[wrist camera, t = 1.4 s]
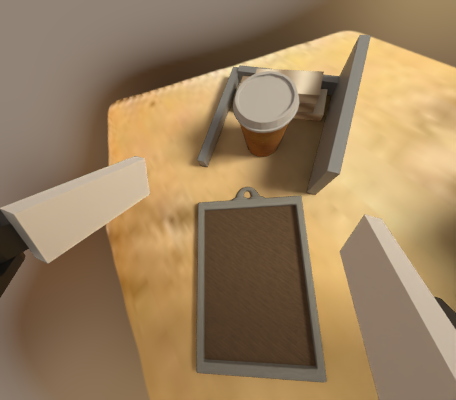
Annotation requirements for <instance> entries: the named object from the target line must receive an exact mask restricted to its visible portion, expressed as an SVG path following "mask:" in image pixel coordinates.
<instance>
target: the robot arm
mask: <svg viewBox="0 0 456 400" xmlns="http://www.w3.org/2000/svg"><path fill="white" fill-rule="evenodd" d="M148 195H150V190H149V184H148V177H147V170H146V164H145V159H144V158H140V157H137V156H134V157H131V158H129V159H126V160H124V161H121V162H118V163H116V164H113V165H111V166H108V167H105V168H103V169H100V170H98V171H95V172H92V173H90V174H87V175H85V176H82V177H79V178H77V179H74V180H72V181H69V182H67V183H64V184H61V185H59V186H56V187H53V188H51V189H48V190H46V191H43V192H41V193H38V194H35V195H33V196H30V197H27V198H25V199H22V200H20V201H17V202H15V203H12V204H9V205H7V206H4V207H1V208H0V297H1V295H2V294H3V293H4V291H5V289H6V288H7V286H8V285H9V283H10V281H11V280H12V278H13V277H14V275H15V274H16V272H17V270H18V269H19V267H20V266H21V264H22V262H23V261H24V259H25V254H24V253H23V252H24V251H25V250H27V249H30V251H31V252H32V253H33V255H34V256H35V258H37V259H39V260H41V261H43V262H46V263H49V262H51V261H52V260H54V259H55V258H57V257H58V256H60V255H61V254H62V253H64V252H66V251H67V250H69V249H70V248H71V247H73V246H75V245H76V244H78V243H79V242H80V241H82V240H83V239H84V238H86V237H88V236H89V235H91V234H92V233H94V232H95V231H97V230H98V229H100V228H101V227H102V226H104V225H105V224H107V223H108V222H110V221H111V220H113V219H114V218H116V217H117V216H119V215H120V214H122V213H123V212H125V211H126V210H127V209H129V208H130V207H132V206H133V205H135V204H136V203H138V202H139V201H141V200H142V199H144V198H145V197H147V196H148ZM340 255H341V258H342V262H343V266H344V270H345V274H346V277H347V281H348V285H349V289H350V292H351V296H352V300H353V304H354V308H355V311H356V315H357V319H358V323H359V326H360V330H361V334H362V338H363V341H364V345H365V349H366V353H367V357H368V360H369V364H370V368H371V372H372V375H373V379H374V383H375V387H376V390H377V394H378V398H379V400H456V313H455V312H454V311H453V310H452V309H451V308H450V307H449V306H448V305H447V304H446V303H445V302H444V301H443V300H442V299H440V298H437V297H434V296H433V295H432V293H431V292H430V290H429V289H428V287H427V286H426V284H425V283H424V281H423V280H422V278H421V277H420V275H419V274H418V272H417V271H416V269H415V268H414V266H413V265H412V263H411V262H410V261H409V259H408V258H407V256H406V255H405V253H404V252H403V250H402V249H401V247H400V246H399V244H398V243H397V241H396V240H395V238H394V237H393V235H392V234H391V232H390V231H389V229H388V228H387V226H386V225H385V223H384V222H383V220H382V219H380V218H376V217H372V216H369V215H365V214H364V216H363V217H362V219H361V220H360V222H359V223H358V225H357V226H356V228H355V229H354V231H353V232H352V234H351V235H350V237H349V238H348V240H347V241H346V243H345V244H344V246H343V247H342V249H341V250H340Z"/></svg>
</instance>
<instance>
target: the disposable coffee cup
mask: <svg viewBox="0 0 456 400" xmlns="http://www.w3.org/2000/svg"><path fill="white" fill-rule="evenodd" d="M298 107H299V96H298V92H297V88H296V86H295V83H294V82H293V81H292V80H291V79H290V78H289V77H288V76H286V75H284V74H282V73H279V72H272V71H266V72H260V73H257V74H254V75H252V76H250V77H249V78H247V79H246V80H244V81H243V83H242V84H241V85H240V86H239V88H238V90H237V92H236V96H235V98H234V101H233V111H234V115H235V117H236V119H237V120H238V122H239V123H240V125H241V128H242V131H243V134H244V137H245V140H246V143H247V145H248V149H249V150H250V152H251V153H252V154H254V155H256V156H260V157H265V156H269V155H271V154H272V153H274V152H275V151H276V149H277V148H278V145H279V143H280V141H281V139H282V137H283V135H284V133H285V130H286V128H287V126H288V124H289V122H290V121H291V120H292V119H293V118H294V116H295V114H296V112H297V110H298Z"/></svg>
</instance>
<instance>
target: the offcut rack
mask: <svg viewBox="0 0 456 400" xmlns="http://www.w3.org/2000/svg"><path fill="white" fill-rule="evenodd" d="M370 37H371V36H370V35H359V38H358V40H357V42H356V44H355V46H354V48H353V50H352V52H351V54H350V56H349V58H348V60H347V62H346V64H345V66H344V68H343V70H342V72H341V74H340V76H331V75H323V79H322V84H321V89H328V90H327V95H330V96H331V99H330V103H329V107H328V111H327V115H326V119H325V123H324V127H323V131H322V135H321V139H320V142H319V146H318V150H317V154H316V158H315V162H314V166H313V170H312V174H311V178H310V182H309V186H308V189H307V193H311V194H314V195H316V194H317V193H318V192H319V191H320V190H321V189H323V188H324V187H325V186H326V185H327V184H328V183H330V182H331V181H332V180H333V179H334V178H335V177H337V176H338V175H339V174H340V171H341V167H342V162H343V158H344V153H345V149H346V144H347V140H348V135H349V131H350V126H351V122H352V117H353V113H354V108H355V104H356V99H357V95H358V90H359V86H360V81H361V77H362V72H363V68H364V64H365V59H366V55H367V50H368V46H369V41H370ZM257 68H258V67H249V66H239V67H233V69H232V72H231V74H230V77H229V79H228V82H227V84H226V87H225V90H224V92H223V95H222V97H221V100H220V102H219V105H218V107H217V110H216V113H215V115H214V118H213V120H212V123H211V125H210V128H209V131H208V133H207V136H206V138H205V141H204V143H203V146H202V149H201V151H200V154H199V156H198V159H197V161H198V162H199V164H200V165H201V166H205V167H208V164H209V161H210V159H211V156H212V153H213V151H214V148H215V145H216V143H217V140H218V137H219V135H220V132H221V129H222V127H223V124H224V121H225V119H226V116H227V113H228V111H229V108H230V105H231V103H232V100H233V97H234V95H235V92H236V89H237V87H238V84H239V83H241V80H242V77H243V76H252V75H254V74H256V70H257ZM258 69H267V68H258Z"/></svg>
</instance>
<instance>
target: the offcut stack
mask: <svg viewBox="0 0 456 400" xmlns="http://www.w3.org/2000/svg"><path fill="white" fill-rule="evenodd" d="M266 71H272V72H279V73H282V74H284V75H286V76H288V77H289V78H290V79H291V80H292V81H293V82H294V83H295V86H296V88H297V92H298V96H299V107H298V110H297V112H296V114H295V116H294V118H297V119H306V120H316V121H321V119H322V117H323V114H324V108H325V102H326V96H327V90H328V89H321V84H322V79H323V73H324V72H319V71H298V70H278V69H258V68H257V70H256V74H257V73H260V72H266ZM249 77H250V76H243V77H242V80H241V83H239V86H240V85H241V84H242V83H243V81H244V80H246V79H247V78H249ZM239 86H238V88H239ZM237 90H238V89H237Z"/></svg>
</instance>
